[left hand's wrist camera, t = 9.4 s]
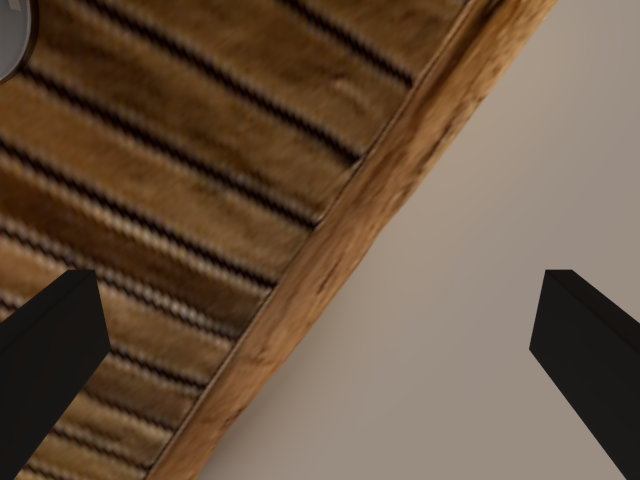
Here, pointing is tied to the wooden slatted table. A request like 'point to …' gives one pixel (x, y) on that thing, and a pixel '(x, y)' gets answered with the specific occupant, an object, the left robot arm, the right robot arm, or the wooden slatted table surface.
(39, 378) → the left robot arm
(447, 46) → the wooden slatted table surface
